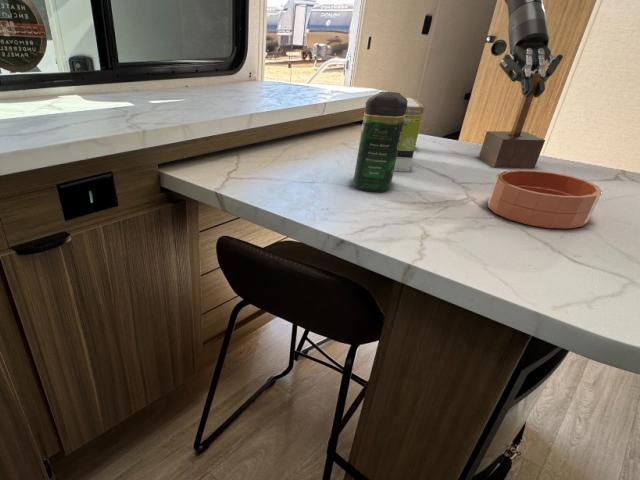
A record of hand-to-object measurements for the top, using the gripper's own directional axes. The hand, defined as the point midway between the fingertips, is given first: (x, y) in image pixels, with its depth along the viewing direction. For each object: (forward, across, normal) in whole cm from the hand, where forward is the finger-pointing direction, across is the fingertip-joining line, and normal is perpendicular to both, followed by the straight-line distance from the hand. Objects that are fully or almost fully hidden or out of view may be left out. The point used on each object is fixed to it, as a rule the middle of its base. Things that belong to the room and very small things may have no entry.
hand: (533, 94), depth 94 cm
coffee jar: (+25, -37, -2) cm, 45 cm away
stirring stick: (+10, 0, +13) cm, 16 cm away
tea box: (+12, -30, +12) cm, 34 cm away
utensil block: (+10, 0, +13) cm, 16 cm away
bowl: (+35, -10, -12) cm, 38 cm away
